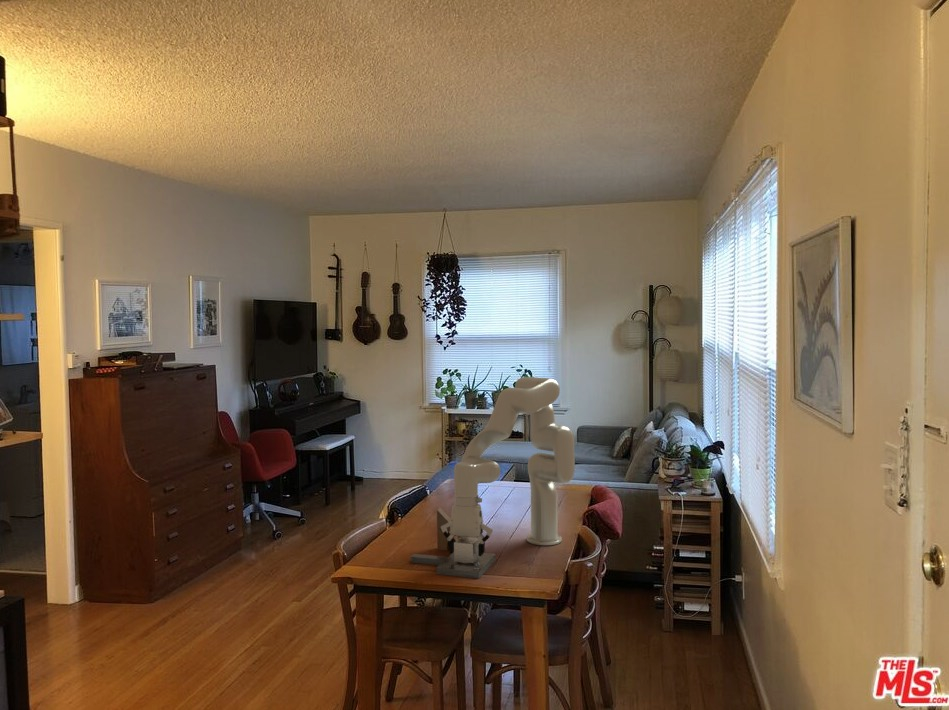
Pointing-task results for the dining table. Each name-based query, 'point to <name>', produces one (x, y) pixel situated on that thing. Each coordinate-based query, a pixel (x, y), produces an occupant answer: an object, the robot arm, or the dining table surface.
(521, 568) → the dining table surface
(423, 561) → the tang block
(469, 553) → the socket
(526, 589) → the dining table surface
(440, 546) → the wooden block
